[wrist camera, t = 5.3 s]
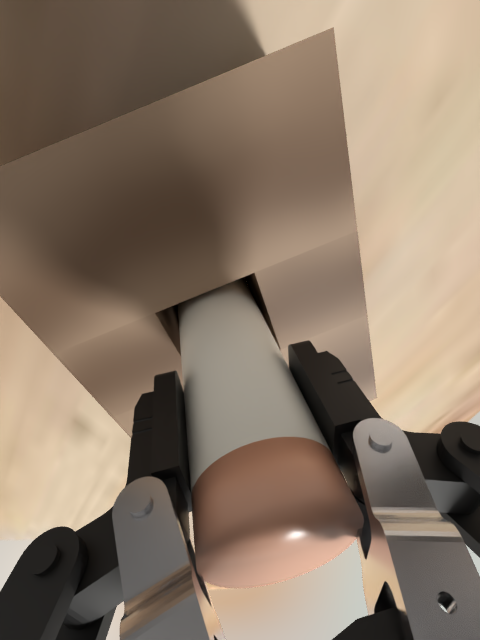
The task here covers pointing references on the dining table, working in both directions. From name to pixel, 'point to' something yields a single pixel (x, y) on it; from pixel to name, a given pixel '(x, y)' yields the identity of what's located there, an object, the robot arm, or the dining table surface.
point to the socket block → (191, 225)
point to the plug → (254, 451)
